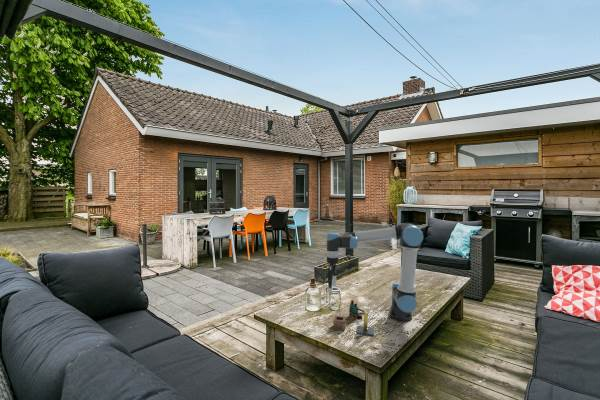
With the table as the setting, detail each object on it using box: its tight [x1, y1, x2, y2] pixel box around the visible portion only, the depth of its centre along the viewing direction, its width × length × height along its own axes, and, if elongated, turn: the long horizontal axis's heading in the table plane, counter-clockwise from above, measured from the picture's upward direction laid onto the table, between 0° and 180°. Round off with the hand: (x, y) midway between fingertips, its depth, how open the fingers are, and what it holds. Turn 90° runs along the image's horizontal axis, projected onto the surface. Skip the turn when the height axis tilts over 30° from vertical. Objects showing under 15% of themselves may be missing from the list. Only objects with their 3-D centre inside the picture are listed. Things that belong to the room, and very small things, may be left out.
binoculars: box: [348, 299, 365, 320], centre depth 208 cm, size 9×11×10 cm
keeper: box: [356, 311, 375, 337], centre depth 187 cm, size 10×9×12 cm
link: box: [332, 315, 347, 332], centre depth 192 cm, size 7×7×6 cm
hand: (332, 288), depth 199 cm, fingers open, 13 cm apart
